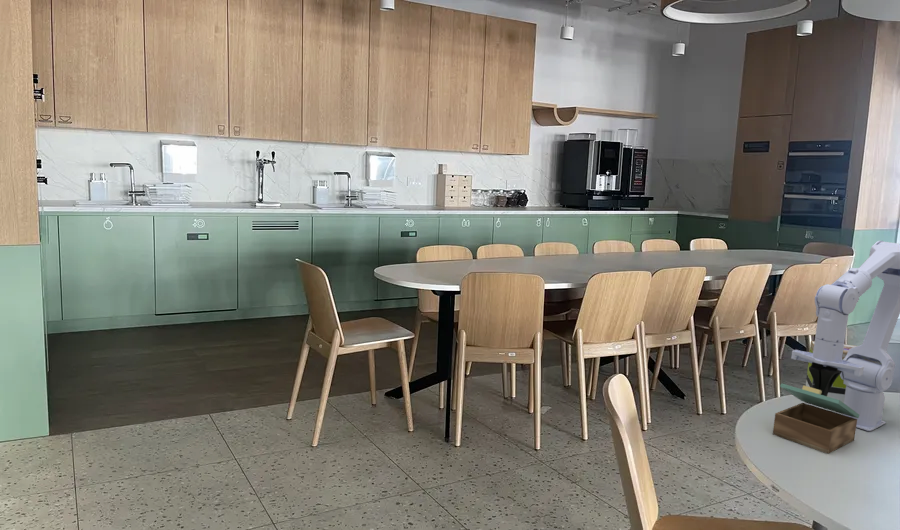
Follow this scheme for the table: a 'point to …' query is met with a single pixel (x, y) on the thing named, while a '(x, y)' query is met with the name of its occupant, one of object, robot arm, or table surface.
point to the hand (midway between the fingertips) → (821, 398)
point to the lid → (819, 399)
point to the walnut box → (815, 427)
